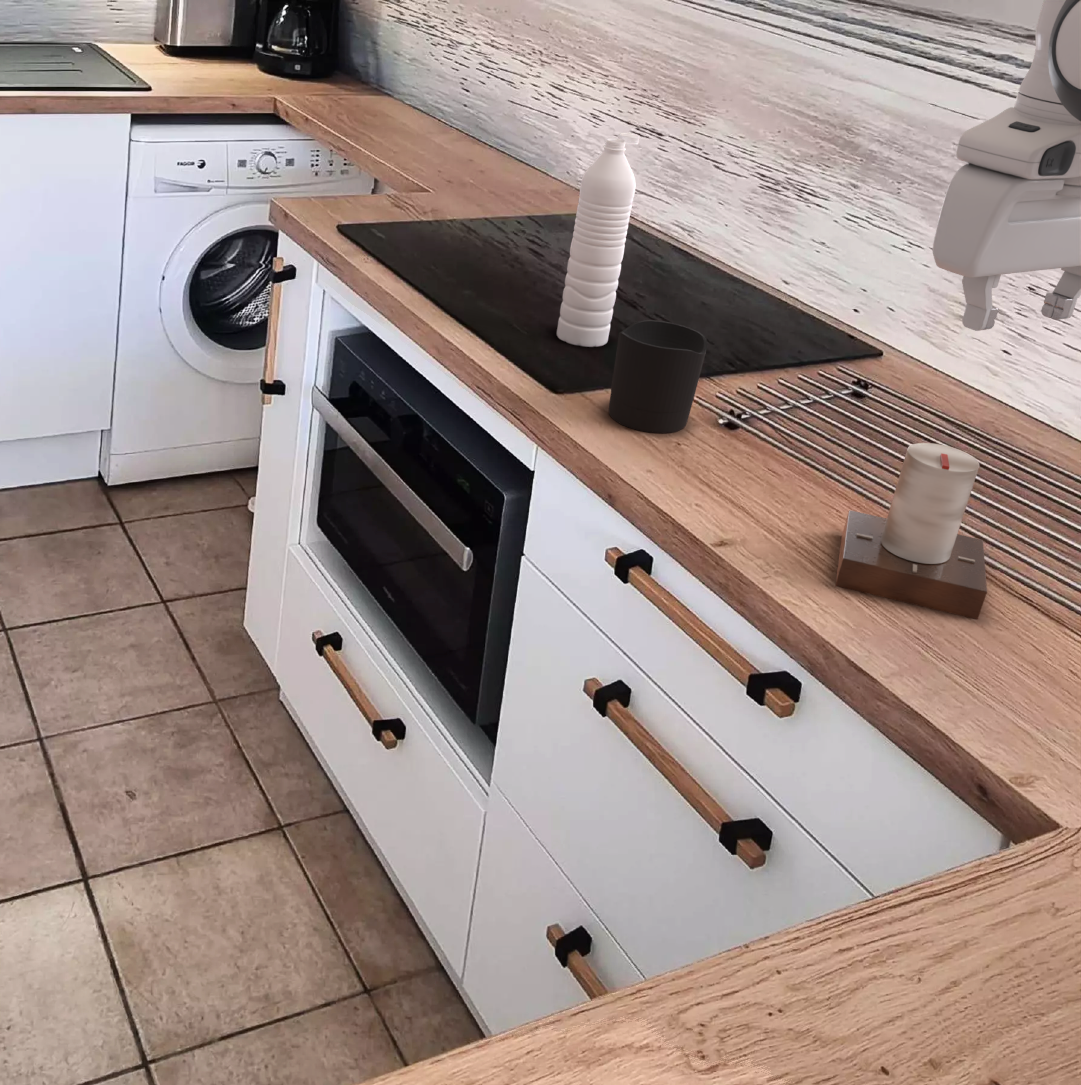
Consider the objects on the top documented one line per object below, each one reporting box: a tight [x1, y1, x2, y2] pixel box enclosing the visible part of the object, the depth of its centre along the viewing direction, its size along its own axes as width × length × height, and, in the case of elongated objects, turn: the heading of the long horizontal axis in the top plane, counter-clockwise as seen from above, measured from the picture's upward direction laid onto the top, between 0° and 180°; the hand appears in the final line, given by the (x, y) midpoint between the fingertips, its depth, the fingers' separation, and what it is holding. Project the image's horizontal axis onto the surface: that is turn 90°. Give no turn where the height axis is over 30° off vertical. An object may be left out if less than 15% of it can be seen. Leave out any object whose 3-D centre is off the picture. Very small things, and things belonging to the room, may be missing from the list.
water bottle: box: [556, 132, 641, 348], centre depth 175 cm, size 9×6×25 cm
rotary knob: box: [881, 442, 980, 564], centre depth 125 cm, size 6×6×9 cm
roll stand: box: [834, 509, 988, 620], centre depth 128 cm, size 12×11×3 cm
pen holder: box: [608, 319, 708, 434], centre depth 155 cm, size 9×9×10 cm
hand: (1016, 322), depth 110 cm, fingers open, 8 cm apart
